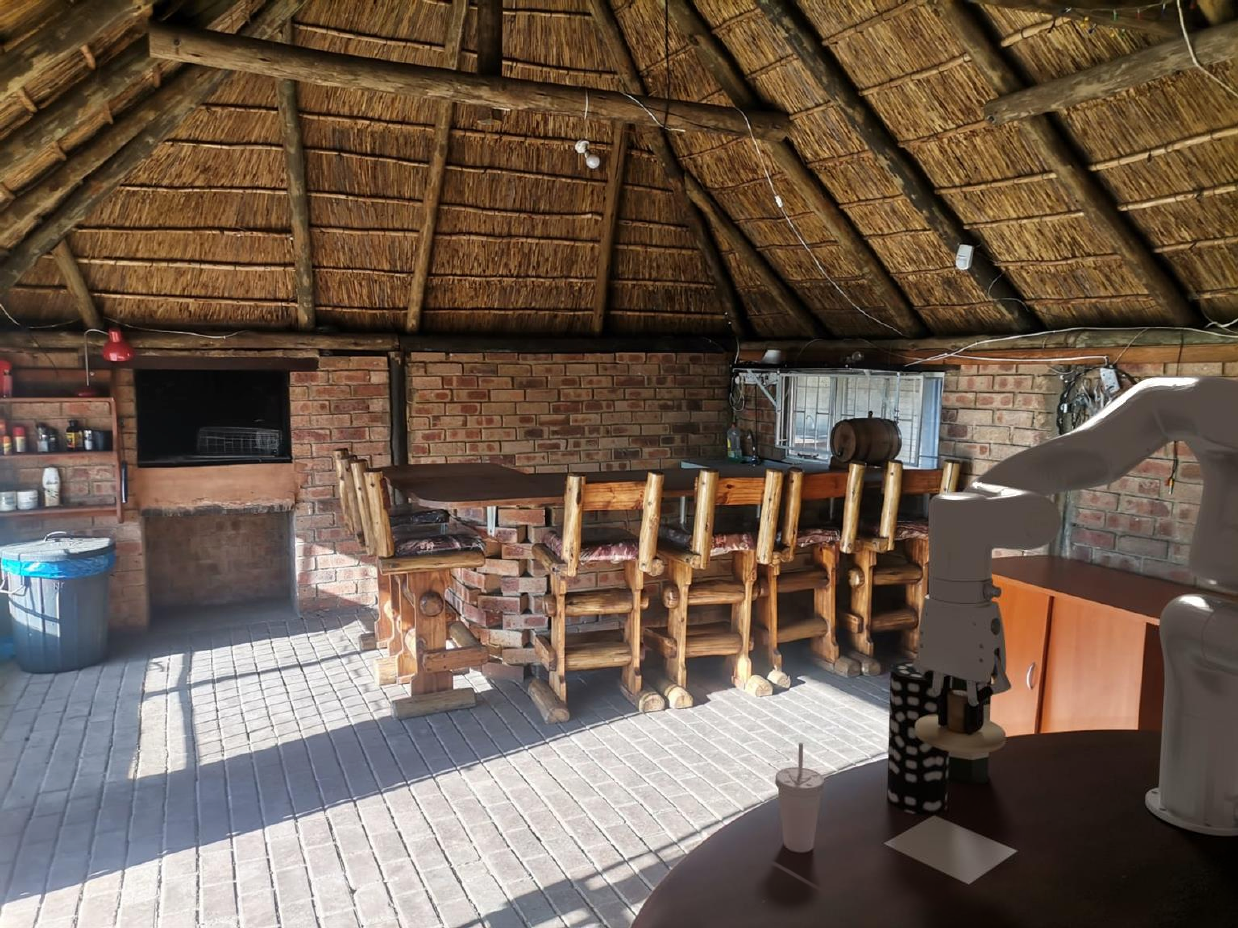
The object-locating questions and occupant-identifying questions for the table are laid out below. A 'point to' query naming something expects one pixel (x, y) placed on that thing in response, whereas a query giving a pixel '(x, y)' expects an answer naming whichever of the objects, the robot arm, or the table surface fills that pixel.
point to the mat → (951, 849)
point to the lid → (959, 729)
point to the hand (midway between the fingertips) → (959, 725)
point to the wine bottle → (969, 764)
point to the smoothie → (799, 804)
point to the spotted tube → (914, 746)
